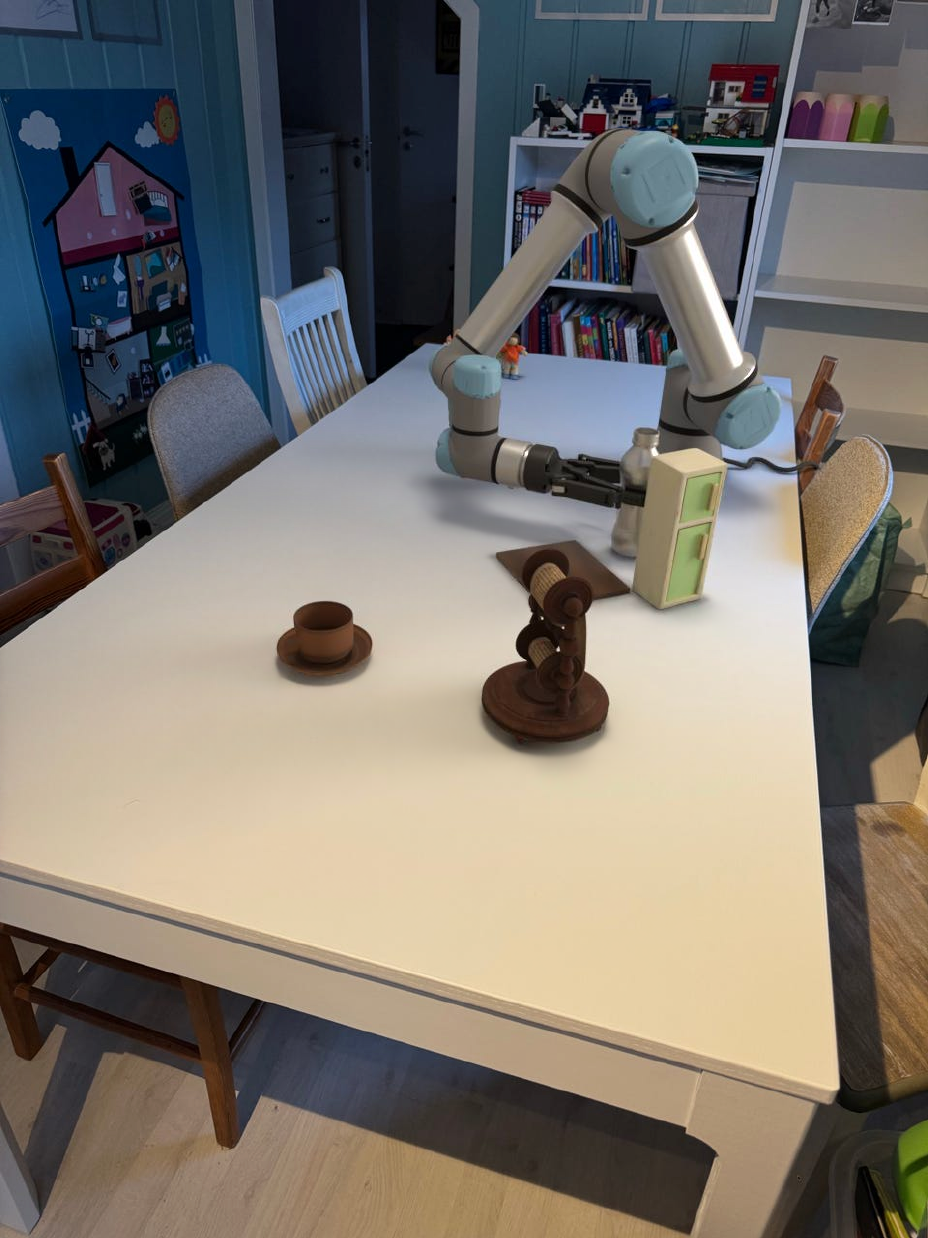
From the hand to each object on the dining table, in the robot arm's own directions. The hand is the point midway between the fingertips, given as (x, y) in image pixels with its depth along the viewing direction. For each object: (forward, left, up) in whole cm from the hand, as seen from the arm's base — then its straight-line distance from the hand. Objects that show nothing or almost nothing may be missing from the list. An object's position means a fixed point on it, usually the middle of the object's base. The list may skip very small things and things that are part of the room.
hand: (672, 494), depth 133 cm
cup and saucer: (+56, +9, -11) cm, 58 cm away
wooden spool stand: (+35, +29, -11) cm, 47 cm away
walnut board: (+17, -1, -11) cm, 21 cm away
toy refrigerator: (+6, +10, -11) cm, 16 cm away
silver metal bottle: (+3, -4, -11) cm, 12 cm away
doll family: (-16, -105, -11) cm, 106 cm away
